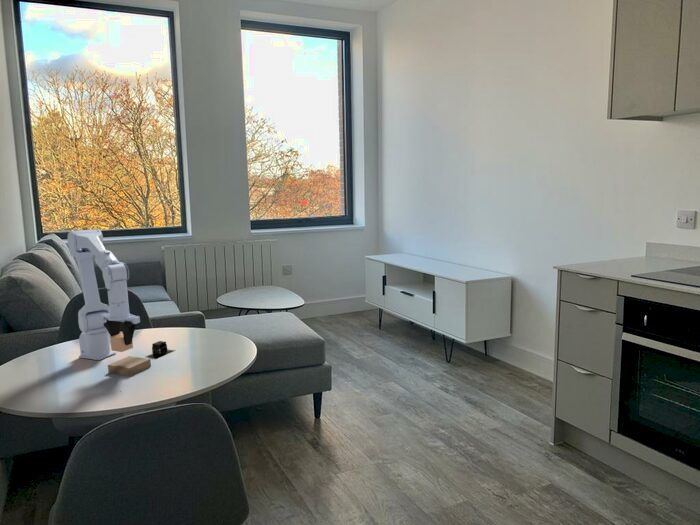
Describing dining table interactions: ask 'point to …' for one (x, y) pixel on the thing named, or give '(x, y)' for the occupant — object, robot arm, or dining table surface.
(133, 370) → the walnut slab
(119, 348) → the terracotta cube
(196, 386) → the dining table surface
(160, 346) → the black slotted bracket
